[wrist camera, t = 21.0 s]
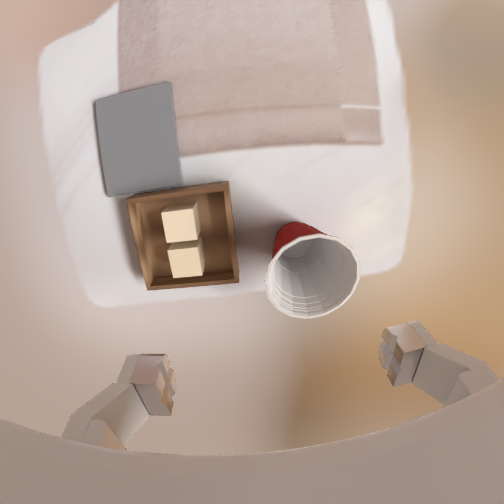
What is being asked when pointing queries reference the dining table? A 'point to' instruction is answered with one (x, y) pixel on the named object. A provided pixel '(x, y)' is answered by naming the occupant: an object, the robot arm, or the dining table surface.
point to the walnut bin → (212, 234)
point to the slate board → (139, 140)
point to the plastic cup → (310, 272)
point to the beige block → (186, 258)
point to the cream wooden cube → (181, 222)
